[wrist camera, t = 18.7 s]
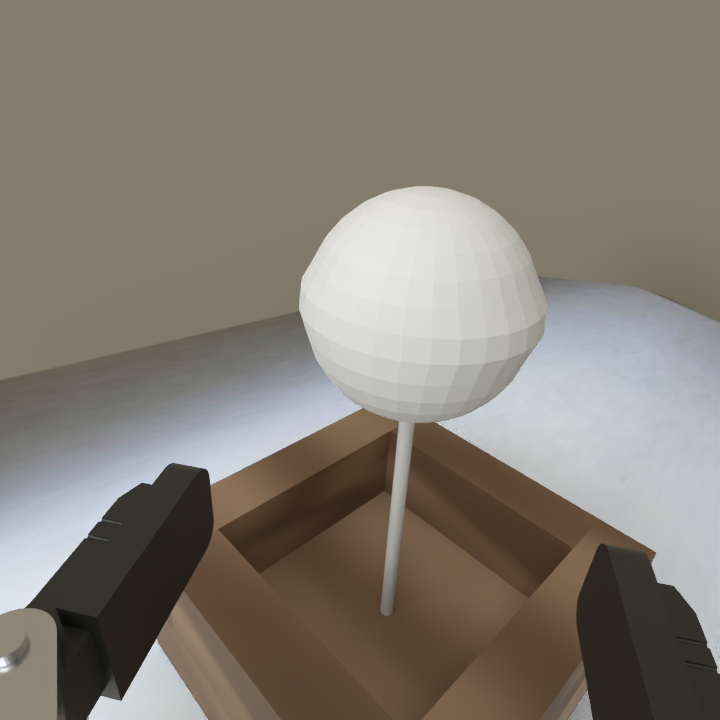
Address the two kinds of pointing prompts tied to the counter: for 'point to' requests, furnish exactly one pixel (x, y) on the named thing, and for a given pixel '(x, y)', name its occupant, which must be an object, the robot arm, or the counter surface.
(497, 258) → the lollipop
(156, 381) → the counter surface
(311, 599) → the base
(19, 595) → the counter surface
